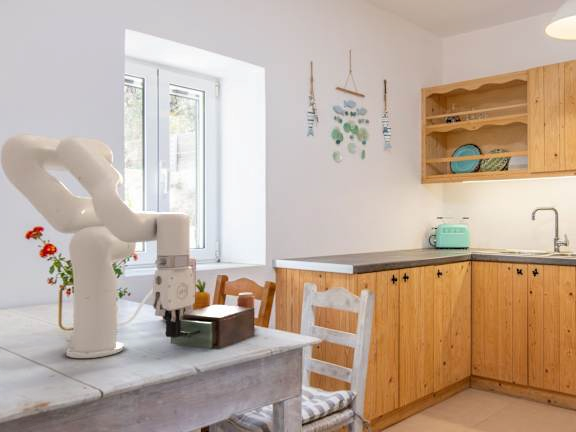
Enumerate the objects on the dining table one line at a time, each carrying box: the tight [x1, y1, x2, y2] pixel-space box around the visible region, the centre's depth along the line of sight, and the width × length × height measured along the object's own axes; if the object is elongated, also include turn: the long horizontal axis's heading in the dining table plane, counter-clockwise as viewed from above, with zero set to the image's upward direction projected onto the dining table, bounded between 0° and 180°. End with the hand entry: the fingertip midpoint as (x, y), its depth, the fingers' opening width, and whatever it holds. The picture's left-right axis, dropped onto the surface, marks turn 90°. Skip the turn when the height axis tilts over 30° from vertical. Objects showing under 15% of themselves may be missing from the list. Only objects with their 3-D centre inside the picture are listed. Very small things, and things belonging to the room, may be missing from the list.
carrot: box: [193, 279, 211, 310], centre depth 159 cm, size 5×5×15 cm
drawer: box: [170, 317, 218, 349], centre depth 140 cm, size 19×12×6 cm, turn 159°
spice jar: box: [236, 291, 255, 308], centre depth 158 cm, size 5×5×11 cm
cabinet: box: [183, 304, 256, 350], centre depth 146 cm, size 16×14×8 cm
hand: (173, 336), depth 130 cm, fingers closed
